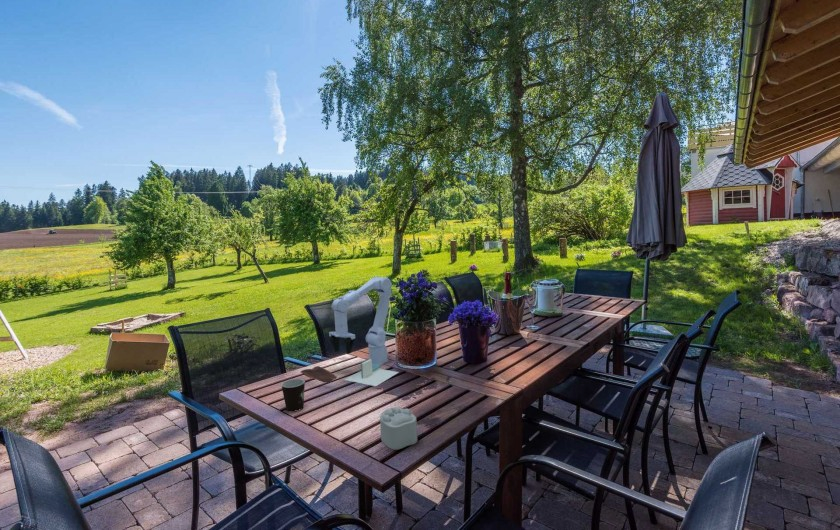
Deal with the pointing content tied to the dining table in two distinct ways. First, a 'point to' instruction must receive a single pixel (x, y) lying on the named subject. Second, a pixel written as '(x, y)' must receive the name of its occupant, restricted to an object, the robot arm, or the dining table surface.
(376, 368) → the flat tile
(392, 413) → the lumpy-topped squat cylinder
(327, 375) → the wooden tablet
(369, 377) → the felt mat
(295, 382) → the coffee mug
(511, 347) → the dining table surface
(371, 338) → the robot arm
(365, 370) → the tile
